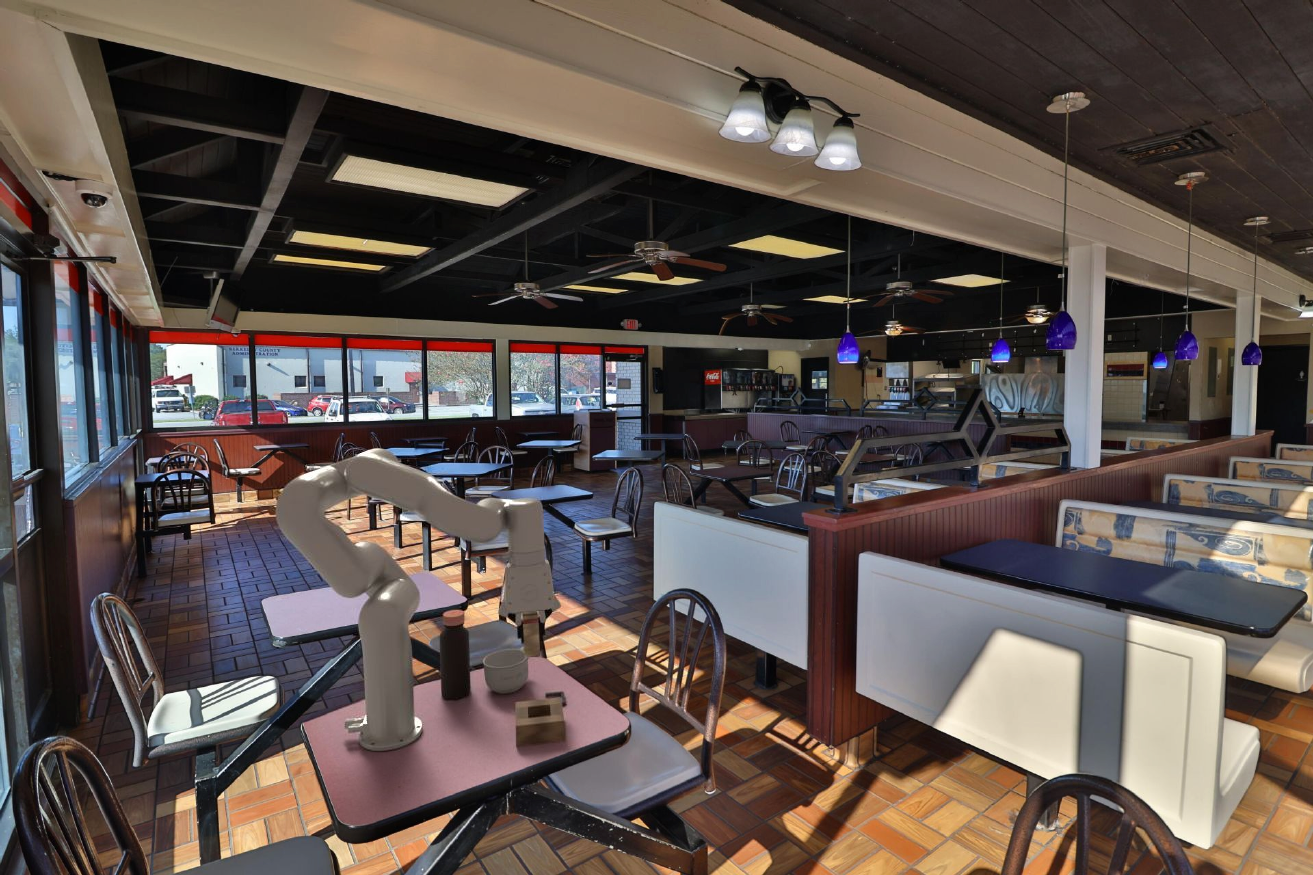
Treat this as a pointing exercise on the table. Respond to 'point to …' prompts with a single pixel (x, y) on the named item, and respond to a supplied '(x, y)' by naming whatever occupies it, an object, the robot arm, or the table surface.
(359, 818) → the table surface
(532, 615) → the red striped block
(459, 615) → the bottle
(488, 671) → the teacup
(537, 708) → the wooden square socket block
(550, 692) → the dark gray angular bracket
